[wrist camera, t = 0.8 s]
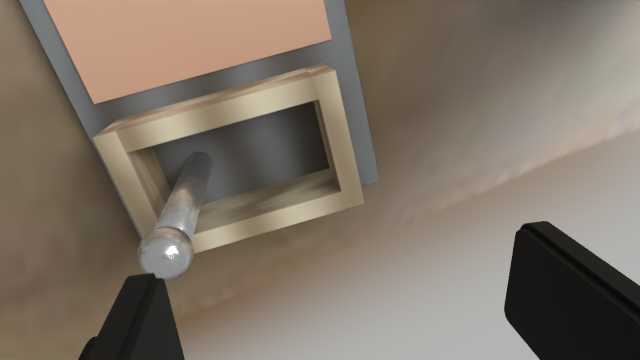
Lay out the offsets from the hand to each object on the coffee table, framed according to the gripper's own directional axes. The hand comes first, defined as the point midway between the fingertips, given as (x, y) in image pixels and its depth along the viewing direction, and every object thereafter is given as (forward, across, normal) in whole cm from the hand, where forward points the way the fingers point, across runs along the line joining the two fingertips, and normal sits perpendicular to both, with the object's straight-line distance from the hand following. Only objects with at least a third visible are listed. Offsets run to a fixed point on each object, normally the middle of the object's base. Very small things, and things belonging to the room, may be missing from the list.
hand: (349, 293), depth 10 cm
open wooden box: (+23, +4, +3) cm, 23 cm away
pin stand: (+24, +5, -4) cm, 24 cm away
